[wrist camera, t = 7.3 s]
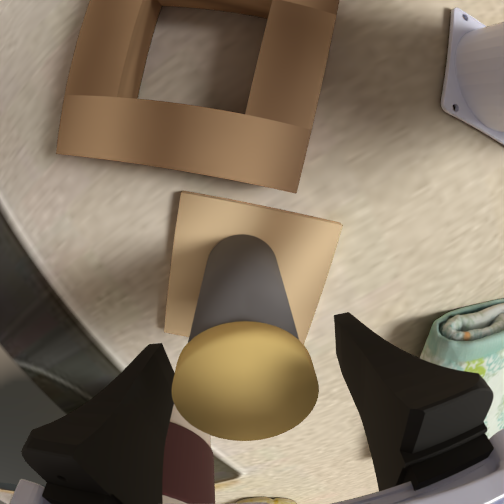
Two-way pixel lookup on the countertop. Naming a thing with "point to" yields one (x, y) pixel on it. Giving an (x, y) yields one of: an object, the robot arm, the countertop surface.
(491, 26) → the robot arm
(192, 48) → the countertop surface
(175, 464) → the coffee cup
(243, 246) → the plug
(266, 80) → the wooden square frame
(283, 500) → the bread roll
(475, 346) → the towel
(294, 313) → the coaster
